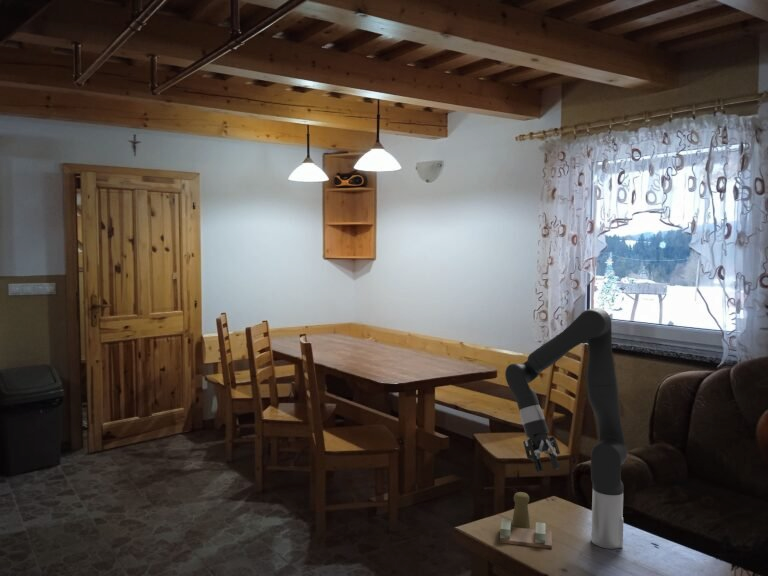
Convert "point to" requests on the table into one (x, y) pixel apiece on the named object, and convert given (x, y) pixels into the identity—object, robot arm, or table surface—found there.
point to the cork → (521, 510)
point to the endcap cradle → (525, 535)
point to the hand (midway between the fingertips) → (548, 470)
